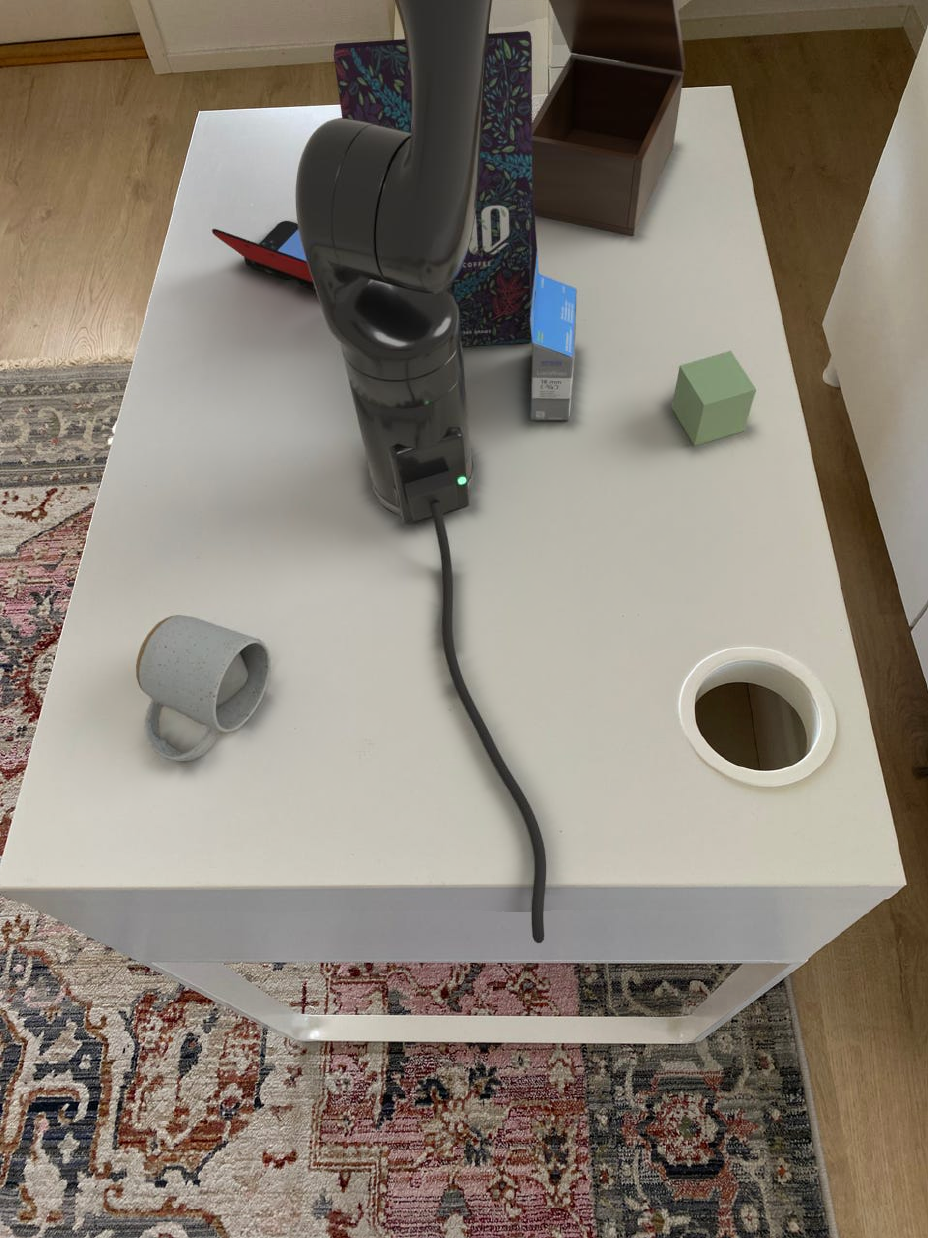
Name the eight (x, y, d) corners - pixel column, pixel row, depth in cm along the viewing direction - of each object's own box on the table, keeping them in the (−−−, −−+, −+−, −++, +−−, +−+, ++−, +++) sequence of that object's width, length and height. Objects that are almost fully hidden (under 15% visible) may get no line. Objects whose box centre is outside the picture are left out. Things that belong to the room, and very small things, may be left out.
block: (744, 431, 87) (756, 389, 82) (694, 446, 86) (704, 405, 82) (719, 393, 89) (730, 350, 84) (671, 407, 89) (679, 365, 84)
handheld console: (379, 259, 101) (369, 198, 95) (323, 323, 97) (308, 264, 90) (285, 225, 105) (269, 164, 98) (227, 286, 101) (206, 226, 94)
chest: (633, 236, 101) (642, 160, 93) (523, 212, 104) (522, 138, 96) (673, 148, 108) (684, 72, 100) (568, 129, 110) (571, 53, 103)
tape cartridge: (570, 423, 89) (576, 323, 78) (529, 421, 89) (529, 321, 78) (574, 354, 93) (580, 250, 82) (534, 352, 93) (535, 249, 82)
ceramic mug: (197, 635, 79) (165, 590, 73) (281, 667, 77) (256, 623, 71) (128, 745, 75) (88, 707, 68) (216, 782, 73) (183, 747, 66)
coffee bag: (537, 346, 94) (541, 64, 69) (373, 354, 94) (320, 78, 70) (533, 288, 98) (535, 3, 73) (376, 297, 98) (327, 17, 74)
